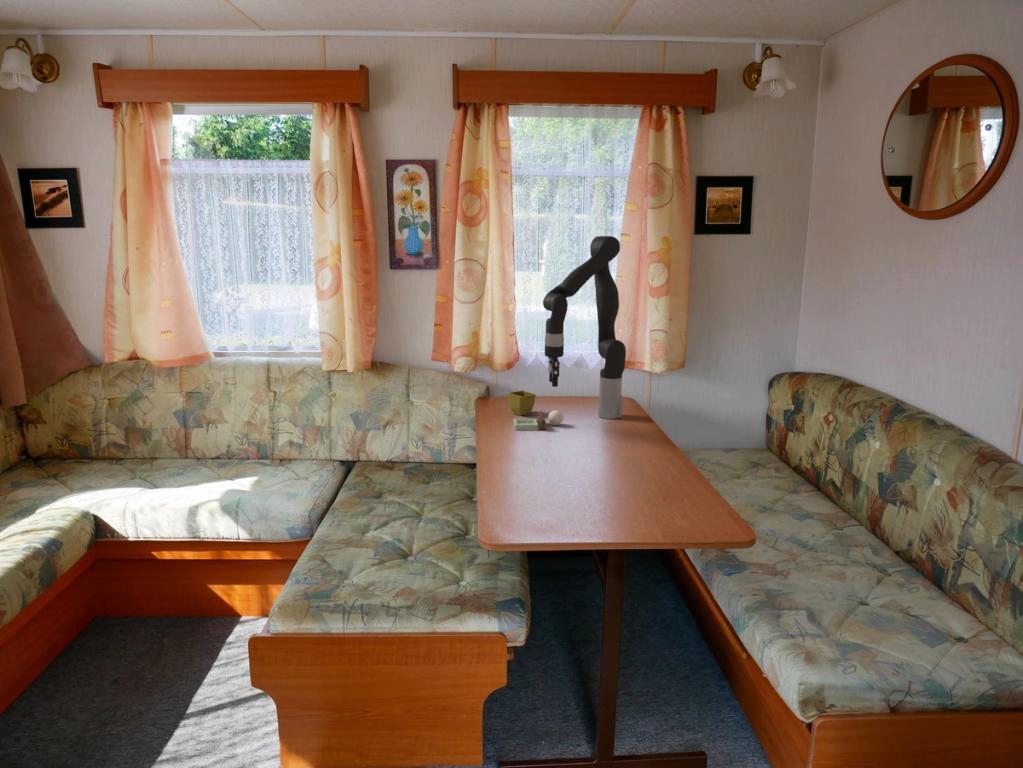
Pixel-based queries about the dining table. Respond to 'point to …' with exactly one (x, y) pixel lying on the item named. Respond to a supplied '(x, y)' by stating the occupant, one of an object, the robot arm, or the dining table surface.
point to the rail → (541, 422)
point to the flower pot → (521, 402)
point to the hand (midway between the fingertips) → (553, 384)
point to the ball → (555, 417)
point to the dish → (525, 424)
